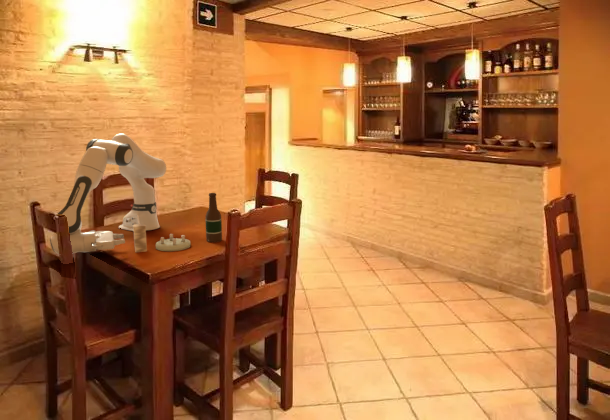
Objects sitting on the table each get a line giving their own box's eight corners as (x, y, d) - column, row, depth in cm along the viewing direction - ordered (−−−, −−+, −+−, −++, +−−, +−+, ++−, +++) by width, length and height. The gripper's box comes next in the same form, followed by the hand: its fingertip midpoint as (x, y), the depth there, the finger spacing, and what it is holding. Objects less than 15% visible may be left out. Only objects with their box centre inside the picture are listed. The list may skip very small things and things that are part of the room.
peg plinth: (158, 252, 223) (157, 242, 222) (154, 244, 238) (153, 234, 237) (193, 249, 230) (192, 238, 229) (187, 241, 244) (186, 231, 243)
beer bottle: (214, 237, 250) (212, 191, 246) (225, 240, 246) (223, 192, 241) (203, 241, 244) (201, 193, 239) (214, 243, 240) (212, 195, 235)
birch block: (135, 252, 224) (133, 226, 222) (134, 249, 229) (133, 224, 226) (147, 251, 226) (145, 225, 224) (145, 248, 231) (144, 223, 228)
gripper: (90, 240, 208) (125, 237, 214) (90, 229, 227) (122, 227, 232) (92, 254, 210) (126, 251, 215) (92, 242, 228) (123, 239, 233)
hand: (124, 238), depth 224 cm, fingers open, 8 cm apart
